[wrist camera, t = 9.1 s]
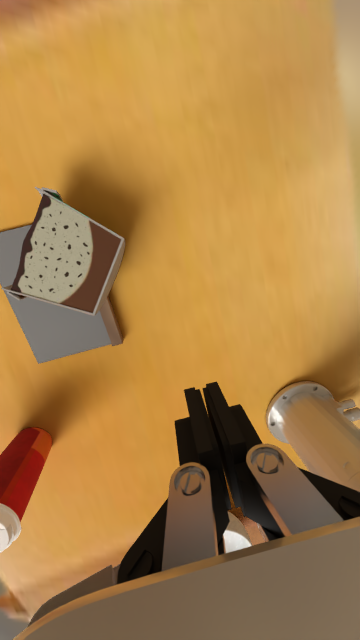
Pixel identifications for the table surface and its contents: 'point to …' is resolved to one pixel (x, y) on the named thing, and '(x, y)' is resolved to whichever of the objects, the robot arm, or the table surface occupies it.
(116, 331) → the rail
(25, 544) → the table surface
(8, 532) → the paper cup
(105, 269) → the food container
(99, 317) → the mat
